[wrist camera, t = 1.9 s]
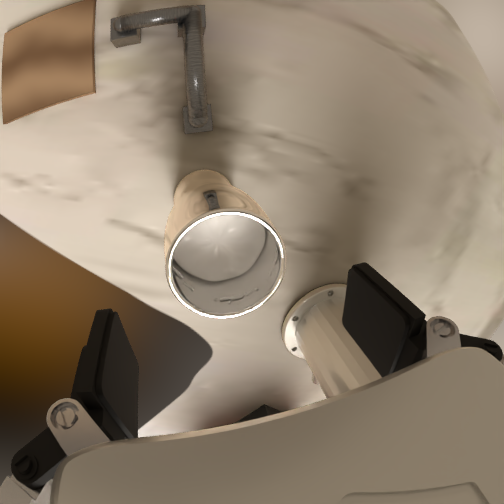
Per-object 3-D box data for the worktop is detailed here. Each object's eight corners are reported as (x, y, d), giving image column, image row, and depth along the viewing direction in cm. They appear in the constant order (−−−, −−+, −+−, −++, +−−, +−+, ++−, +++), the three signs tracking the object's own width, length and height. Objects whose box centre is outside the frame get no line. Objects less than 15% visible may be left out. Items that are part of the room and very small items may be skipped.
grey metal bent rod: (209, 130, 26) (214, 130, 22) (123, 143, 24) (113, 146, 21) (202, 14, 20) (206, -2, 17) (116, 27, 19) (107, 13, 15)
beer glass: (212, 243, 31) (240, 337, 18) (156, 209, 28) (137, 287, 15) (252, 190, 29) (314, 250, 16) (196, 151, 26) (212, 176, 13)
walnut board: (95, 92, 21) (93, 92, 21) (7, 123, 19) (3, 124, 19) (96, -1, 17) (94, -3, 16) (7, 35, 15) (4, 33, 14)
